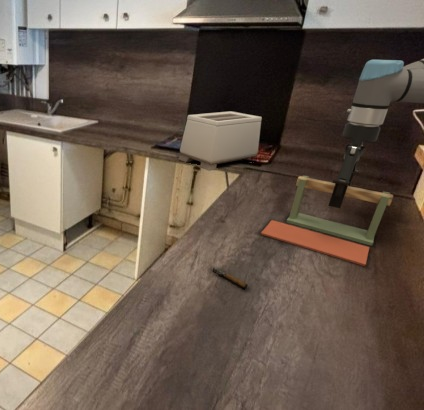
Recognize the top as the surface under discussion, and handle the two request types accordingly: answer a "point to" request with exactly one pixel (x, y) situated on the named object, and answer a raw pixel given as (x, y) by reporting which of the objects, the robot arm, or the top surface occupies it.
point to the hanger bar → (350, 192)
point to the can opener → (231, 278)
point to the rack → (334, 227)
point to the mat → (317, 242)
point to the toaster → (220, 138)
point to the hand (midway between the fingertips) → (337, 199)
